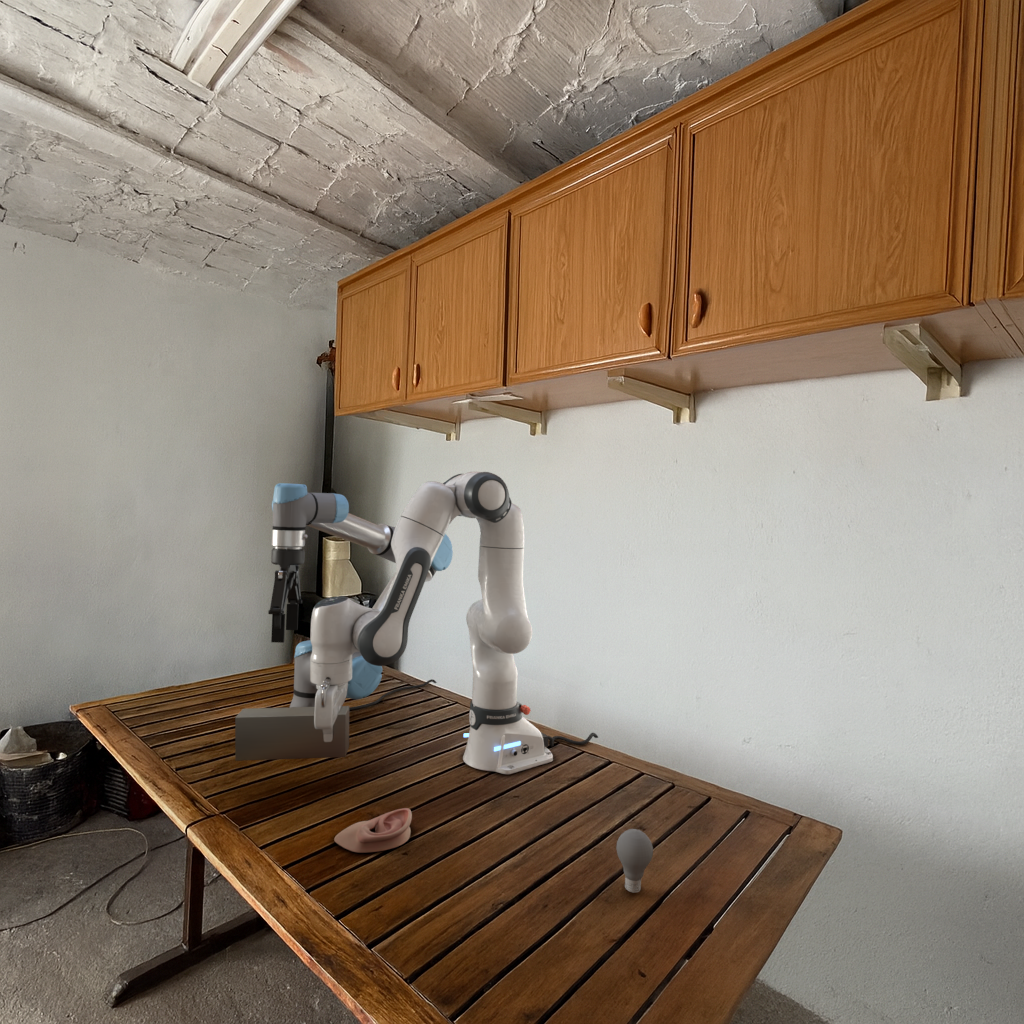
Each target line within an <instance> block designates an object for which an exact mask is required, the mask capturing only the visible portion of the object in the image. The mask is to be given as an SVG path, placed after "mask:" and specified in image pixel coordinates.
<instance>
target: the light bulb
mask: <svg viewBox="0 0 1024 1024" xmlns="http://www.w3.org/2000/svg"><path fill="white" fill-rule="evenodd" d="M615 849H616V854H617V857H618V859H619V861H620V863H621V865H622V867H623V873H624V874H623V875H624V876H625V878H624V888H625V890H627V891H628V892H630V893H634V894H635V893H639V892H640V891H641V889H642V887H641V886H642V879H643V877H644V875H645V871H646V868H647V867H648V866H649V864H650V863H651V861H652V859H653V855H654V847H653V843H652V841H651V838H649V836H648V835H647V834H646V833H645V832H643V831H642V830H641V829H636V828H629V829H627V830H625V831H623V832H622V833H621V834H620V835H619V837H618V839H617V841H616V847H615Z"/></svg>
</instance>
